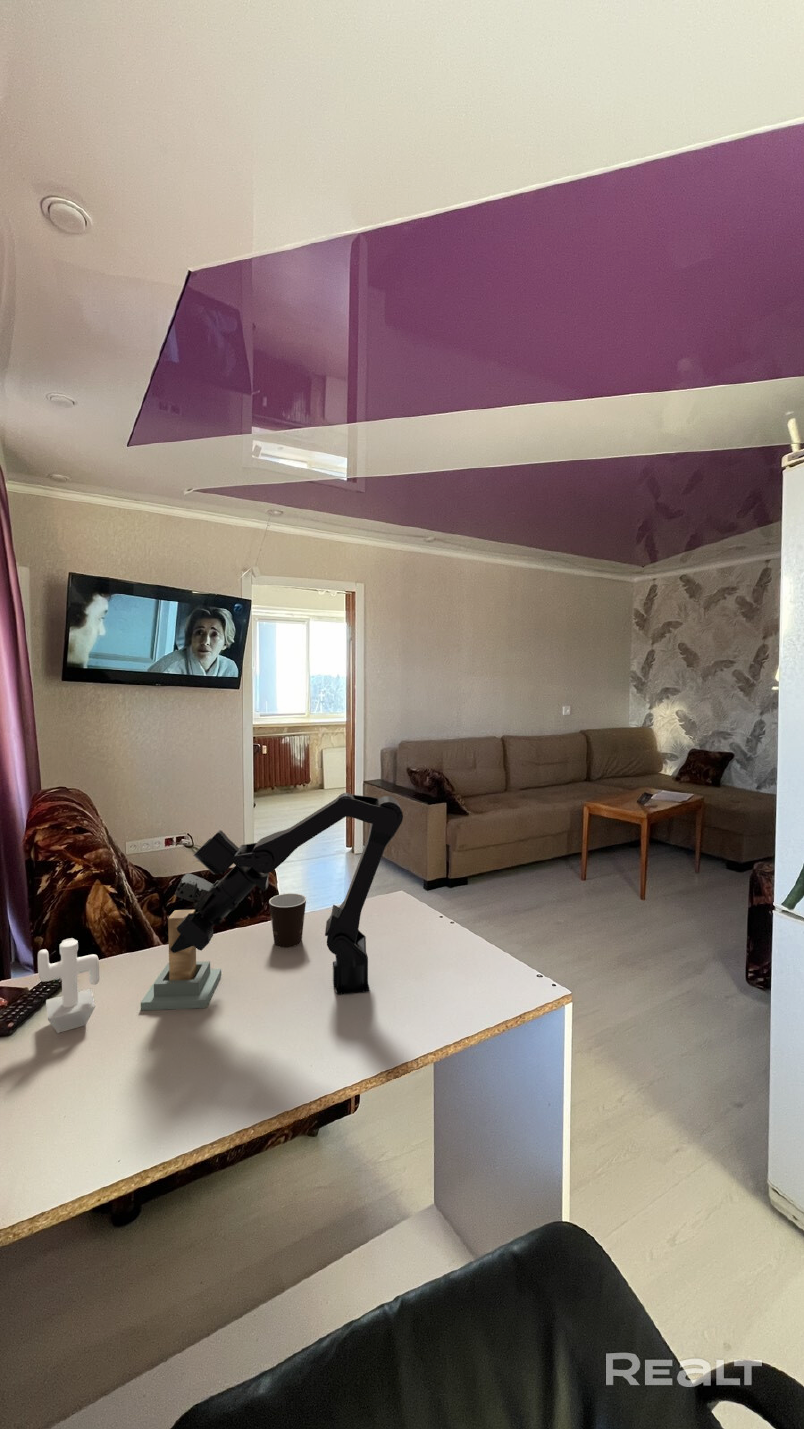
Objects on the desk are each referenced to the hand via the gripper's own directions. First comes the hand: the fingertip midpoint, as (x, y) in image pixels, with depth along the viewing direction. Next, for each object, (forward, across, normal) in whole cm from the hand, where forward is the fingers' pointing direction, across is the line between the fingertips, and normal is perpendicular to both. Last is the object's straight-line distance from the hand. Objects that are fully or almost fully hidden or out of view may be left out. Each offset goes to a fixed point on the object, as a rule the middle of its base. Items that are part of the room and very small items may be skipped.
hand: (175, 945), depth 113 cm
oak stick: (+4, 0, +6) cm, 7 cm away
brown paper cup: (-7, -22, +21) cm, 31 cm away
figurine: (+18, +9, -4) cm, 20 cm away
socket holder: (+6, 0, +8) cm, 10 cm away
